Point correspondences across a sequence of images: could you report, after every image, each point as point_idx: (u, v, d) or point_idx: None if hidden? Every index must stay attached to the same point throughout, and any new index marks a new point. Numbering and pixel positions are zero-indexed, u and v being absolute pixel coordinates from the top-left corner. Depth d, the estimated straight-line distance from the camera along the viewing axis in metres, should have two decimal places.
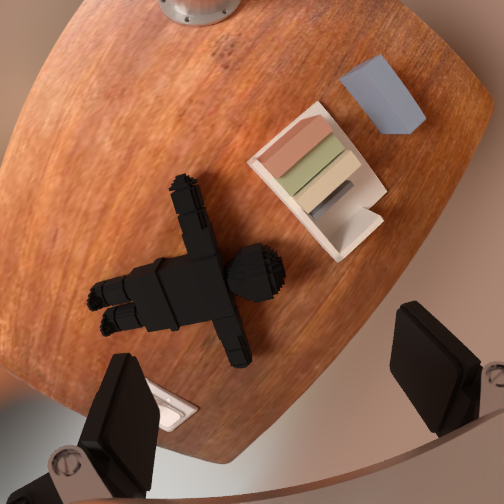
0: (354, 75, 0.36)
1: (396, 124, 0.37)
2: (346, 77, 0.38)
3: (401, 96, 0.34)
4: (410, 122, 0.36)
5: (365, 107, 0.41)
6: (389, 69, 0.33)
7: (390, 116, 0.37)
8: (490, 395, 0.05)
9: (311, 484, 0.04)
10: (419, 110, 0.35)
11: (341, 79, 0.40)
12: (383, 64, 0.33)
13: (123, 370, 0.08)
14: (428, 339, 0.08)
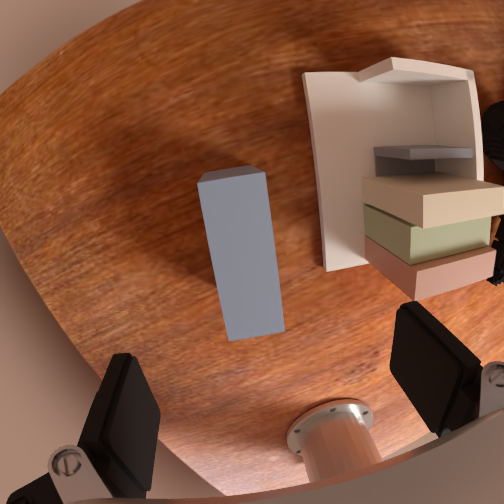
0: None
1: None
2: None
3: (237, 254, 0.19)
4: (248, 194, 0.18)
5: None
6: (229, 311, 0.21)
7: None
8: (490, 395, 0.05)
9: (311, 484, 0.04)
10: (205, 208, 0.18)
11: None
12: (236, 323, 0.21)
13: (123, 370, 0.08)
14: (428, 339, 0.08)
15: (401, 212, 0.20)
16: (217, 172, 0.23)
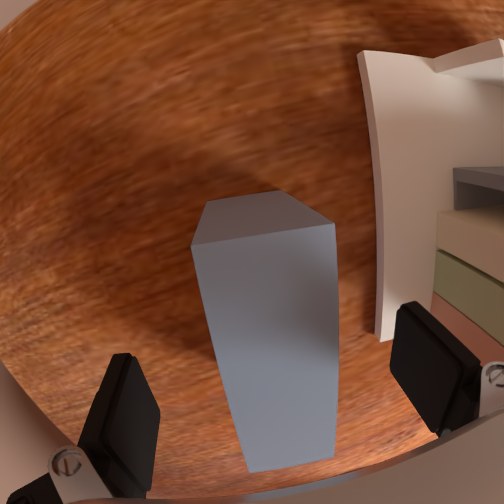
0: None
1: None
2: None
3: (271, 373, 0.10)
4: (299, 269, 0.09)
5: None
6: (252, 445, 0.11)
7: None
8: (490, 395, 0.05)
9: (311, 484, 0.04)
10: (210, 297, 0.09)
11: None
12: (262, 456, 0.11)
13: (123, 370, 0.08)
14: (428, 339, 0.08)
15: None
16: (229, 206, 0.14)
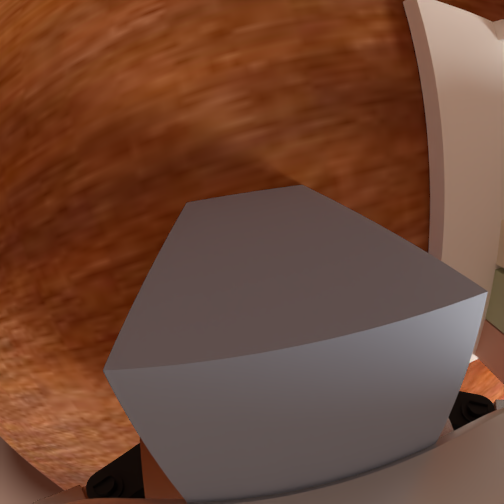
0: None
1: None
2: None
3: None
4: (392, 402, 0.03)
5: None
6: None
7: None
8: None
9: None
10: (175, 462, 0.03)
11: None
12: None
13: None
14: None
15: None
16: (220, 214, 0.08)
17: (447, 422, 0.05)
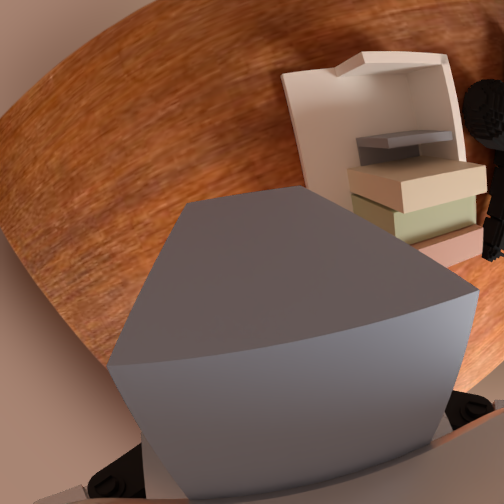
0: None
1: None
2: None
3: None
4: (386, 398, 0.03)
5: None
6: None
7: None
8: None
9: (311, 484, 0.04)
10: (176, 456, 0.03)
11: None
12: None
13: None
14: None
15: (384, 199, 0.22)
16: (220, 215, 0.08)
17: (446, 422, 0.05)
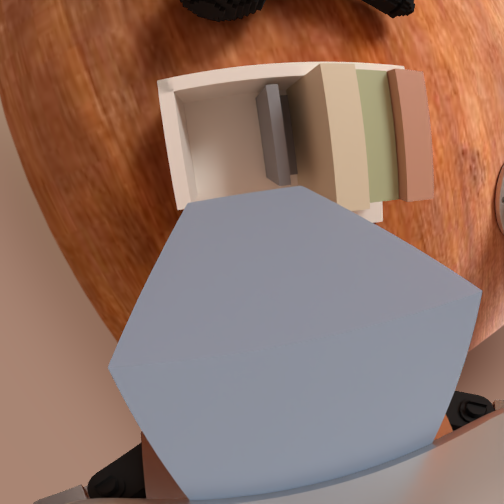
0: None
1: None
2: None
3: None
4: (389, 399, 0.03)
5: None
6: None
7: None
8: None
9: None
10: (177, 457, 0.03)
11: None
12: None
13: None
14: None
15: None
16: (221, 215, 0.08)
17: (446, 422, 0.05)
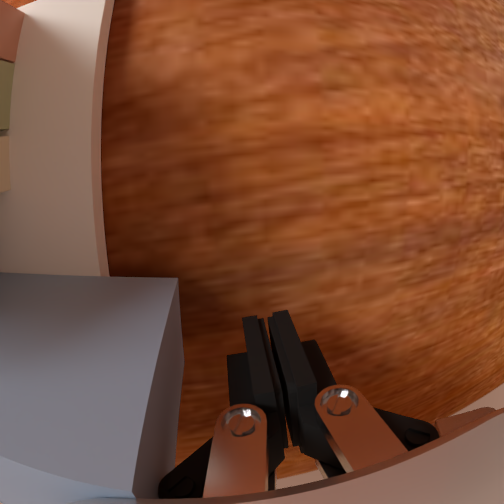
0: (135, 366, 0.07)
1: None
2: (159, 314, 0.09)
3: None
4: None
5: (32, 287, 0.10)
6: None
7: None
8: (343, 428, 0.06)
9: (311, 484, 0.04)
10: None
11: (169, 287, 0.11)
12: None
13: (261, 329, 0.10)
14: (277, 351, 0.09)
15: None
16: None
17: (371, 452, 0.05)
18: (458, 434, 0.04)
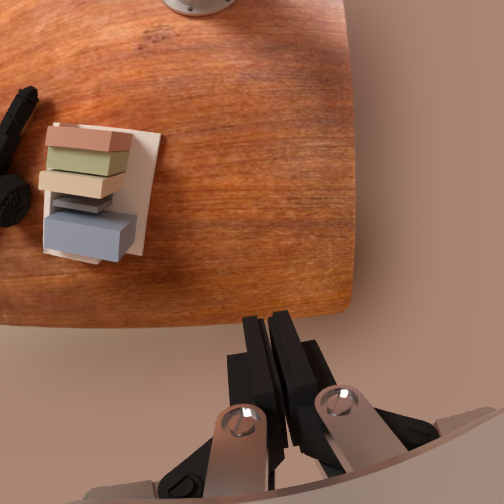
0: (124, 223, 0.38)
1: (61, 216, 0.35)
2: (130, 219, 0.40)
3: (74, 241, 0.34)
4: (51, 228, 0.33)
5: None
6: (100, 255, 0.35)
7: (70, 218, 0.35)
8: (343, 428, 0.06)
9: (311, 484, 0.04)
10: (53, 248, 0.34)
11: (134, 216, 0.42)
12: (108, 254, 0.35)
13: (261, 329, 0.10)
14: (277, 351, 0.09)
15: (110, 181, 0.34)
16: None
17: (372, 451, 0.05)
18: (458, 434, 0.04)
